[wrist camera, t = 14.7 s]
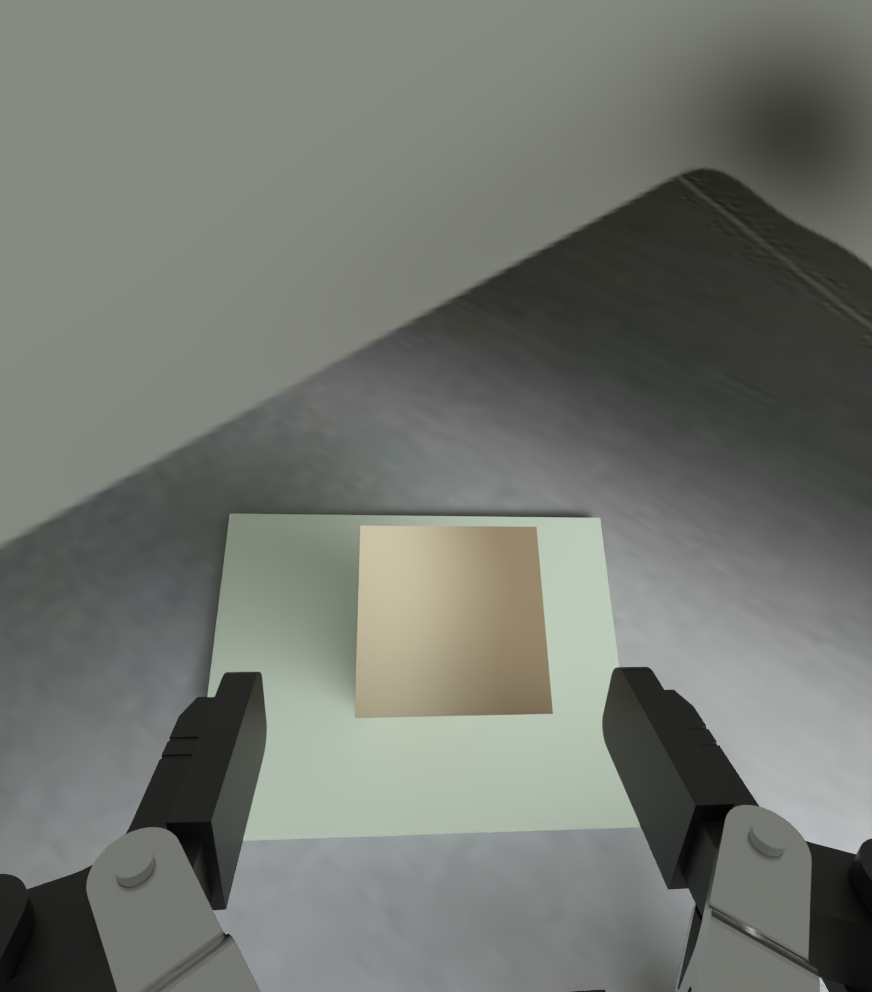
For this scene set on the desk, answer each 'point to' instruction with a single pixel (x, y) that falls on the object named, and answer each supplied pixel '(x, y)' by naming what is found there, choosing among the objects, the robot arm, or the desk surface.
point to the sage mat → (412, 740)
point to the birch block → (450, 622)
